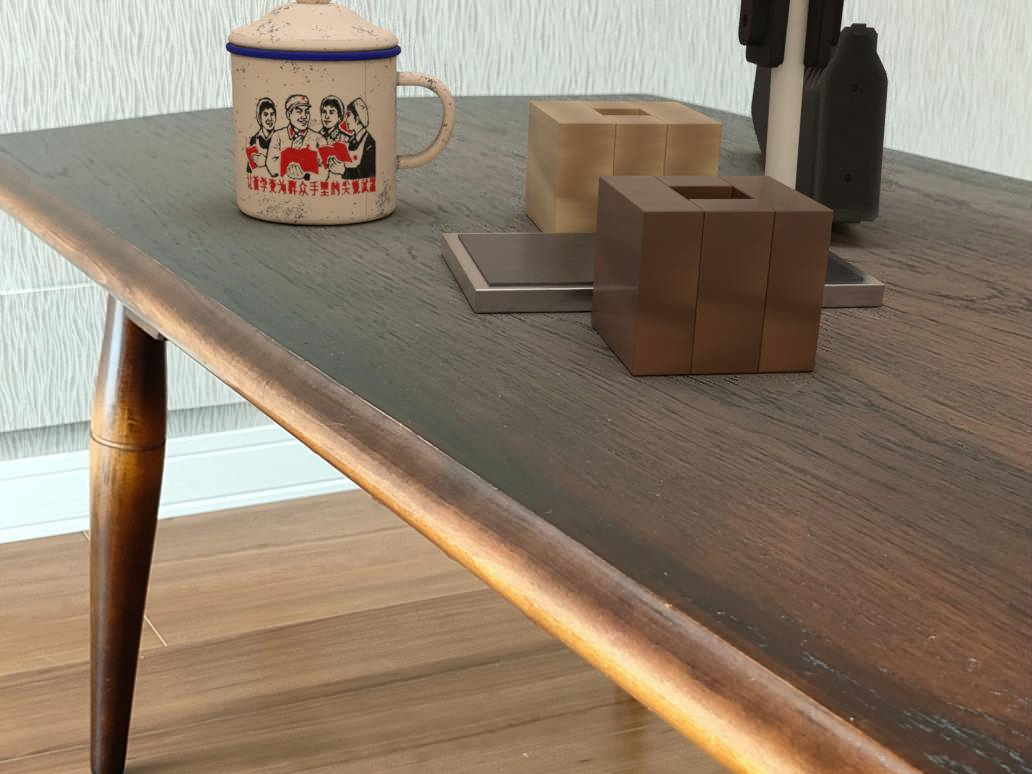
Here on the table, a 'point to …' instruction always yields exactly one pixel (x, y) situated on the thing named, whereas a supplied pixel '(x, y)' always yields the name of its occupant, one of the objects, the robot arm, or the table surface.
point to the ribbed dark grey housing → (837, 126)
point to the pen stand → (608, 153)
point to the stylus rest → (709, 274)
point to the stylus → (787, 100)
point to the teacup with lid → (321, 115)
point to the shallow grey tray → (580, 273)
